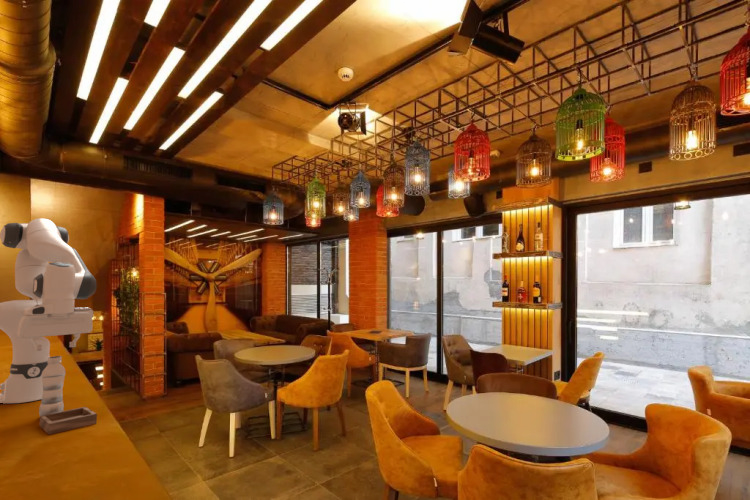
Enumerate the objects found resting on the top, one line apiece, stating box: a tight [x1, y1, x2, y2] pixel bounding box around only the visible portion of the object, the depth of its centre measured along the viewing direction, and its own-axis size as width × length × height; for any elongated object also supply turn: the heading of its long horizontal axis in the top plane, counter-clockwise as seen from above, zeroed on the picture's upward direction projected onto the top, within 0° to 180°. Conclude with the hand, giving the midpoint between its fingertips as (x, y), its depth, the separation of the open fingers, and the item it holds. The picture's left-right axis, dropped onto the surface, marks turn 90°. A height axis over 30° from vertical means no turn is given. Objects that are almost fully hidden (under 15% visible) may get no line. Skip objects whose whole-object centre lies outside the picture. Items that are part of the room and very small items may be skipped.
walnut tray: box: [39, 406, 98, 435], centre depth 125 cm, size 12×12×3 cm
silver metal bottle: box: [38, 355, 66, 417], centre depth 133 cm, size 6×7×20 cm
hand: (55, 348), depth 134 cm, fingers open, 8 cm apart
